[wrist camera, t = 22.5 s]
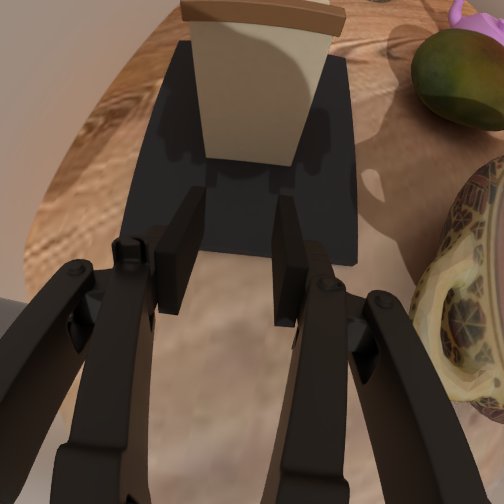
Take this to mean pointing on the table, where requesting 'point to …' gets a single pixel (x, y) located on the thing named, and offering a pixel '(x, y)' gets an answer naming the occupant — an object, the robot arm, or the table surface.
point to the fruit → (462, 78)
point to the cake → (380, 0)
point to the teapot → (476, 22)
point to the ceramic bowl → (468, 296)
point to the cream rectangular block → (258, 72)
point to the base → (249, 172)
